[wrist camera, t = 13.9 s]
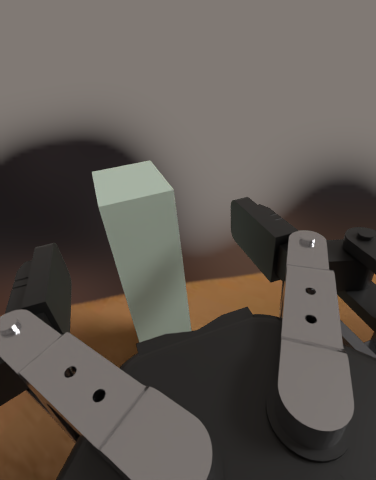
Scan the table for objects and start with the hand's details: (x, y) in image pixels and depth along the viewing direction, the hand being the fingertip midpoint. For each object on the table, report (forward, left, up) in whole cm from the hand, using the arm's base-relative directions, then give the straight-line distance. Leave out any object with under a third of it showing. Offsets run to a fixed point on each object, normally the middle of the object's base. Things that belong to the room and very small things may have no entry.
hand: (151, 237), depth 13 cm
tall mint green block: (0, -4, -15) cm, 15 cm away
